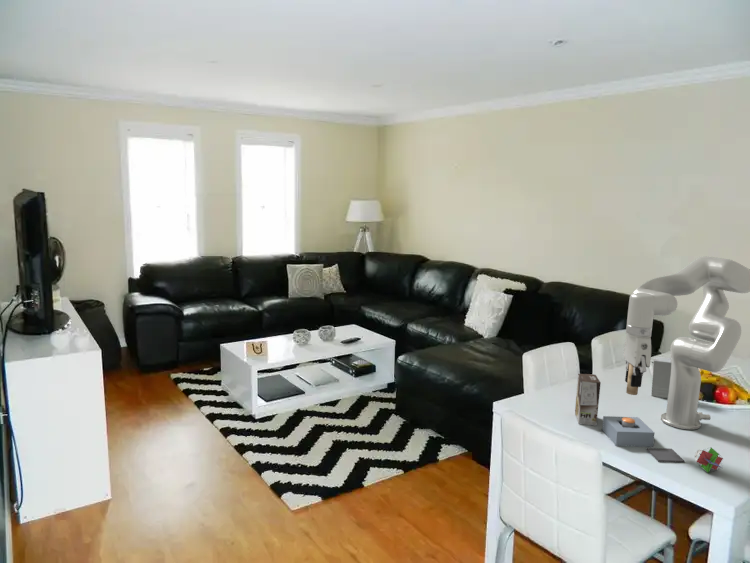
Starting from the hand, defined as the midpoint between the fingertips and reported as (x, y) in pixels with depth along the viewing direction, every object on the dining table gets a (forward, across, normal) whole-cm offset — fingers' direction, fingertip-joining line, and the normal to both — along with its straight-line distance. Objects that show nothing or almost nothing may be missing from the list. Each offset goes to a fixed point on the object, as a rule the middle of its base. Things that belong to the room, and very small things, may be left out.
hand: (632, 383), depth 181 cm
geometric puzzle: (+20, -20, -16) cm, 32 cm away
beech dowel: (+3, 0, 0) cm, 3 cm away
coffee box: (+20, +14, +9) cm, 26 cm away
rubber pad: (+19, -12, -7) cm, 24 cm away
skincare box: (+19, +40, -31) cm, 54 cm away
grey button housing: (+19, 0, 0) cm, 19 cm away
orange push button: (+17, 0, 0) cm, 17 cm away
